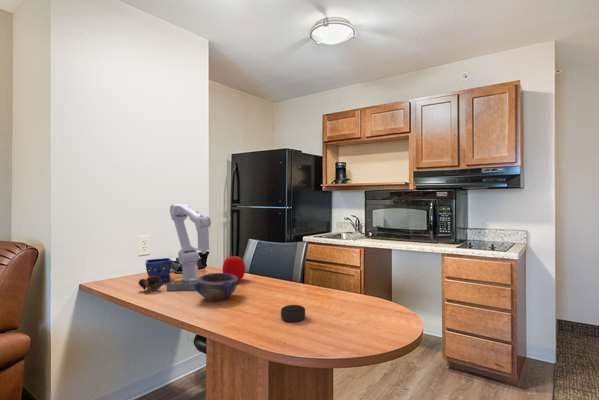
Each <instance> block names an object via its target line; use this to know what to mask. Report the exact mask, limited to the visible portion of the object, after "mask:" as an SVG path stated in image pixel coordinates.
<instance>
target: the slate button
mask: <svg viewBox="0 0 599 400" xmlns="http://www.w3.org/2000/svg"><path fill="white" fill-rule="evenodd" d="M197 279H198V278H191V279H189V284H194V283H195V282H196V281H197Z"/></svg>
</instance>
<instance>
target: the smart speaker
mask: <svg viewBox="0 0 599 400" xmlns="http://www.w3.org/2000/svg"><path fill="white" fill-rule="evenodd" d="M280 318H281V320H282V321H284V322H288V323H297V322H301V321H303V320H304V319H306V308H305V307H304V306H303V305H299V304H289V305H285V306H283V307H282V308H281V309H280Z"/></svg>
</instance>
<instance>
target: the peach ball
mask: <svg viewBox="0 0 599 400" xmlns="http://www.w3.org/2000/svg"><path fill="white" fill-rule="evenodd" d="M174 281H175V282H176V284H183V283H184V278H183V277H182V278H175V279H174Z"/></svg>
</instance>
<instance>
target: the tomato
mask: <svg viewBox="0 0 599 400" xmlns="http://www.w3.org/2000/svg"><path fill="white" fill-rule="evenodd" d="M222 273H226V274H231V275H235V276H237V277H238V278H239V280H240V281H241V280H242V279H243V277H244V276H245V273H246V264H245V262H244V260H243V258H241V257H240V256H237V255H235V256H234V254H232V255H231V256H227V257H226V258H225V260H224V261H223V264H222Z"/></svg>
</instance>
